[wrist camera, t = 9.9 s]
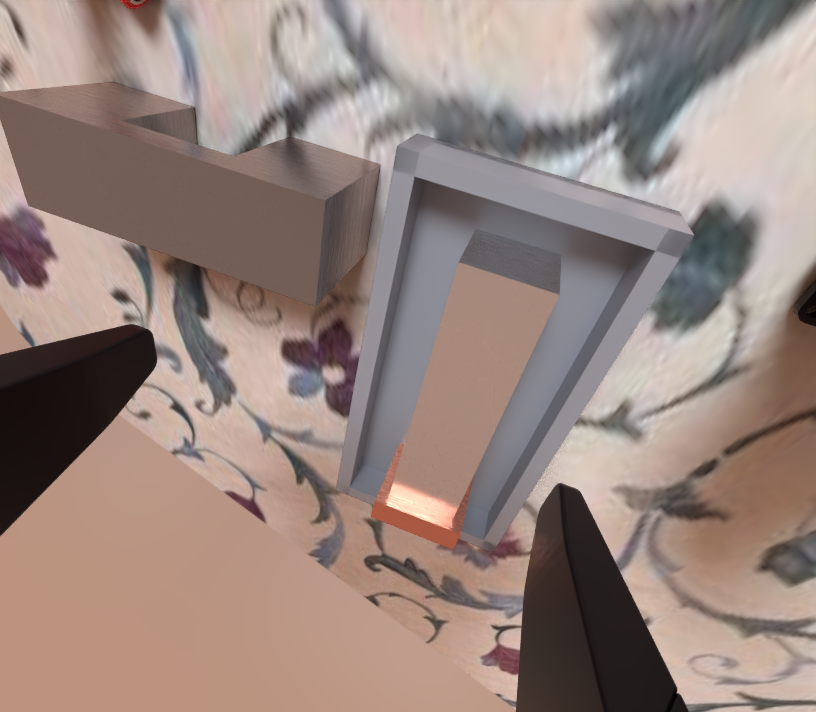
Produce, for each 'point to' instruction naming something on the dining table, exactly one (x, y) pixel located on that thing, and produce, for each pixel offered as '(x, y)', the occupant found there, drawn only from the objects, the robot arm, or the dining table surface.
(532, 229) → the tray
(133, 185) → the block
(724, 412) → the dining table surface
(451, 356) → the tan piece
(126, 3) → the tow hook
